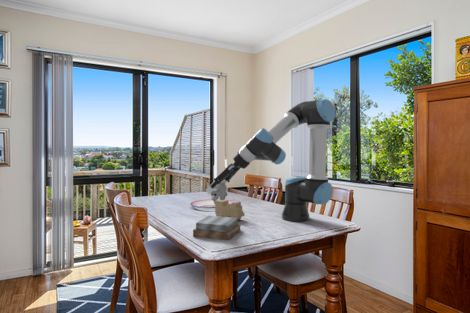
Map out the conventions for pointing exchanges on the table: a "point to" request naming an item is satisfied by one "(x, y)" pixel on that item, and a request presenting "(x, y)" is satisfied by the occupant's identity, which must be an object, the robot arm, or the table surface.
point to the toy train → (228, 209)
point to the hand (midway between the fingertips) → (211, 190)
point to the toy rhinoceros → (219, 192)
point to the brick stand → (217, 227)
